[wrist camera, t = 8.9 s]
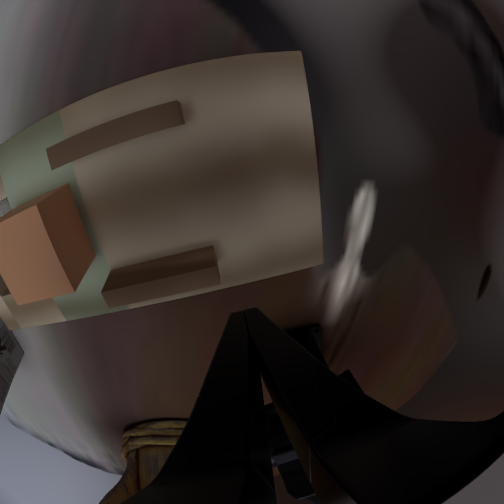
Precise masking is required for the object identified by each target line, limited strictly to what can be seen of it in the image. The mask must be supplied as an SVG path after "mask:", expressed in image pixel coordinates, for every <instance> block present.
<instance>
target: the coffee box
mask: <svg viewBox="0 0 504 504" xmlns="http://www.w3.org/2000/svg"><path fill="white" fill-rule="evenodd" d="M23 355H24V352H23V351H22V349H21V347H20V346H19V344H18V342H17V341H16V339H15V337H14V336H13V334H12V332H11V330H9V329H8V327H7V326H6V324H5V323H4V321H3V320H2V318H1V317H0V414H1V411H2V408H3V405H4V402H5V399H6V396H7V393H8V391H9V388H10V386H11V383H12V380H13V378H14V375H15V373H16V371H17V368H18V366H19V364H20V361H21V359H22V357H23Z"/></svg>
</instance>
